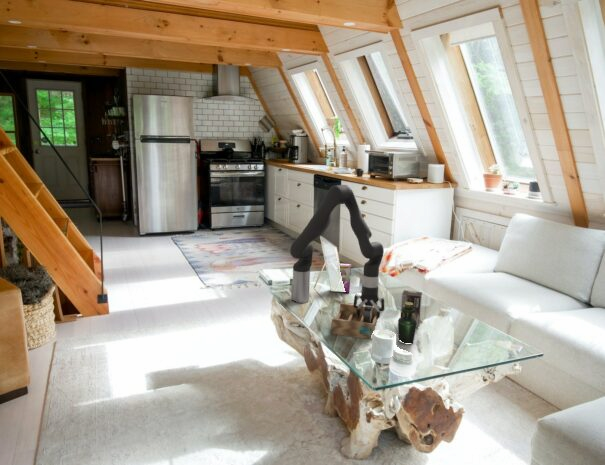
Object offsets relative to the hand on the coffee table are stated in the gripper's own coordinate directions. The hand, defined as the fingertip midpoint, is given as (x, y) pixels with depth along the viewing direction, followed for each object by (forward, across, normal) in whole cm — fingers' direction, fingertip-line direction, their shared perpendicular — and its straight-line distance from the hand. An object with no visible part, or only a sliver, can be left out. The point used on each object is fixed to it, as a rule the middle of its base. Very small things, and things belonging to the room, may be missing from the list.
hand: (368, 317), depth 227 cm
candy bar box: (+6, -22, +49) cm, 54 cm away
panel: (+5, 0, 0) cm, 5 cm away
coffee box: (+6, +19, +12) cm, 23 cm away
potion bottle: (+6, +18, -9) cm, 21 cm away
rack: (+6, -6, 0) cm, 8 cm away
